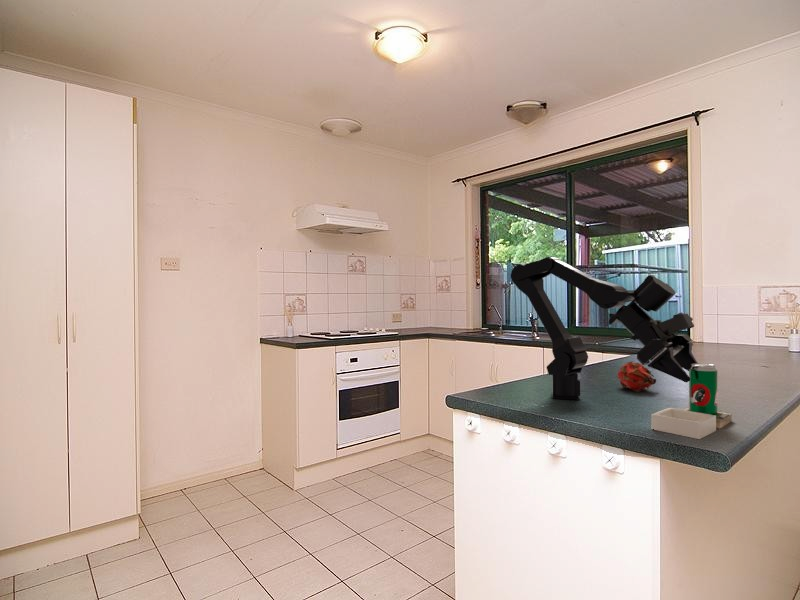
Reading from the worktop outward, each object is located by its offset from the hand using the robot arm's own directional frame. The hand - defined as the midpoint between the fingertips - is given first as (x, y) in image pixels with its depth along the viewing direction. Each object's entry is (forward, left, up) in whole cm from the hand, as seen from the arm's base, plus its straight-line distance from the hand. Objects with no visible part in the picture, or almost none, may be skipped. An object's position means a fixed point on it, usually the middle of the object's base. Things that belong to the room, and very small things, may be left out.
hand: (695, 378), depth 100 cm
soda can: (+1, -1, -9) cm, 9 cm away
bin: (-5, -9, -9) cm, 14 cm away
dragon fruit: (-6, +31, -9) cm, 33 cm away
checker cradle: (+1, -1, -9) cm, 9 cm away
